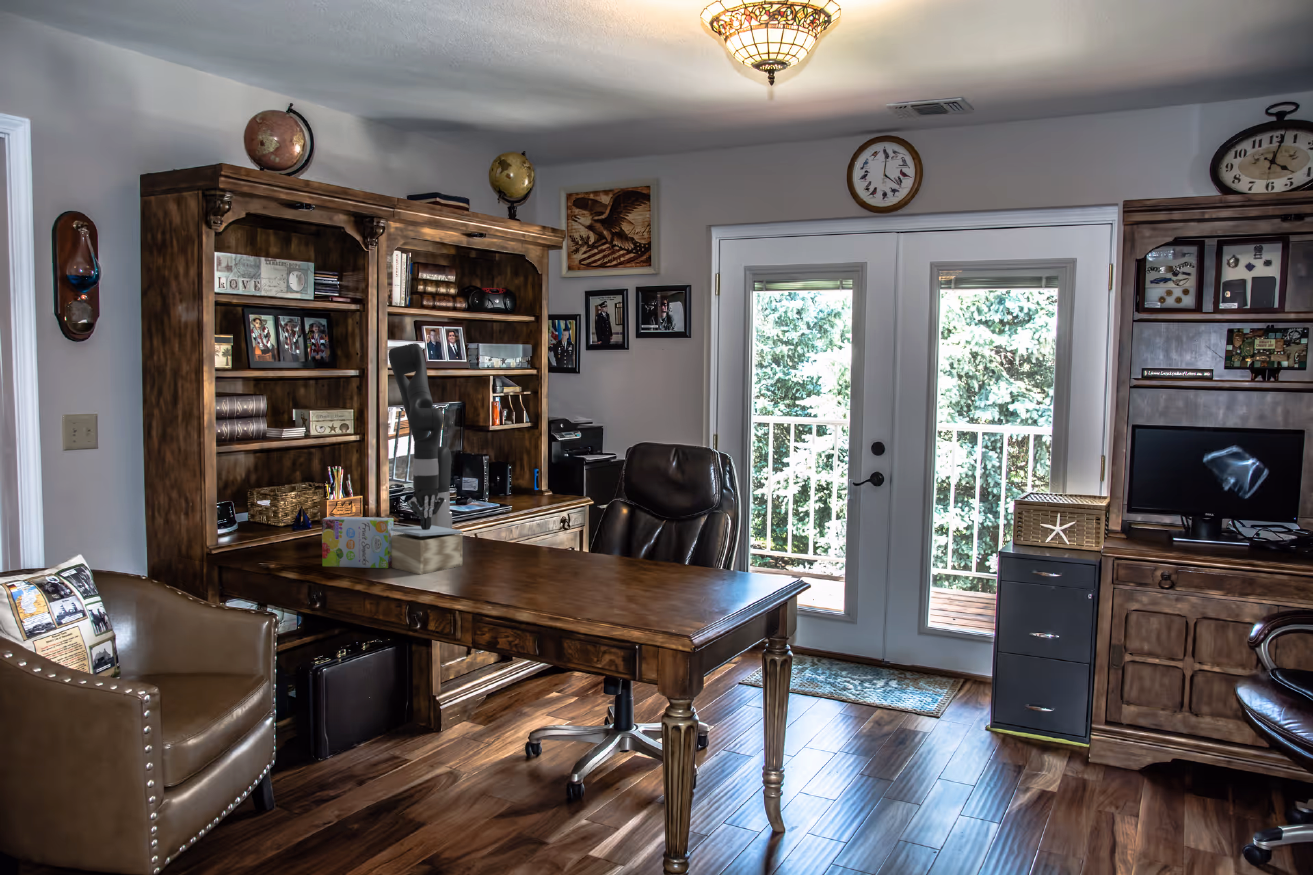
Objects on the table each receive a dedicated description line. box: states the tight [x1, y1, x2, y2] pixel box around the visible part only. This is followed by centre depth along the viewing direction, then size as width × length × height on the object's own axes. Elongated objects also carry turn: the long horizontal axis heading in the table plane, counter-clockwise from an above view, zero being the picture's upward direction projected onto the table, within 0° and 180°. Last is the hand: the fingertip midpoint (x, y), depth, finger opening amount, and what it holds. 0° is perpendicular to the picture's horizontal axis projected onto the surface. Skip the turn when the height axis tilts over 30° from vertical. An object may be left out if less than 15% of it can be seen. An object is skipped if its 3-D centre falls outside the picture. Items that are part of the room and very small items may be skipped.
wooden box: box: [391, 533, 464, 575], centre depth 289 cm, size 16×14×10 cm
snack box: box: [321, 516, 395, 569], centre depth 289 cm, size 21×6×15 cm, turn 84°
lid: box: [391, 525, 464, 536], centre depth 288 cm, size 17×14×1 cm
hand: (425, 529), depth 288 cm, fingers closed
